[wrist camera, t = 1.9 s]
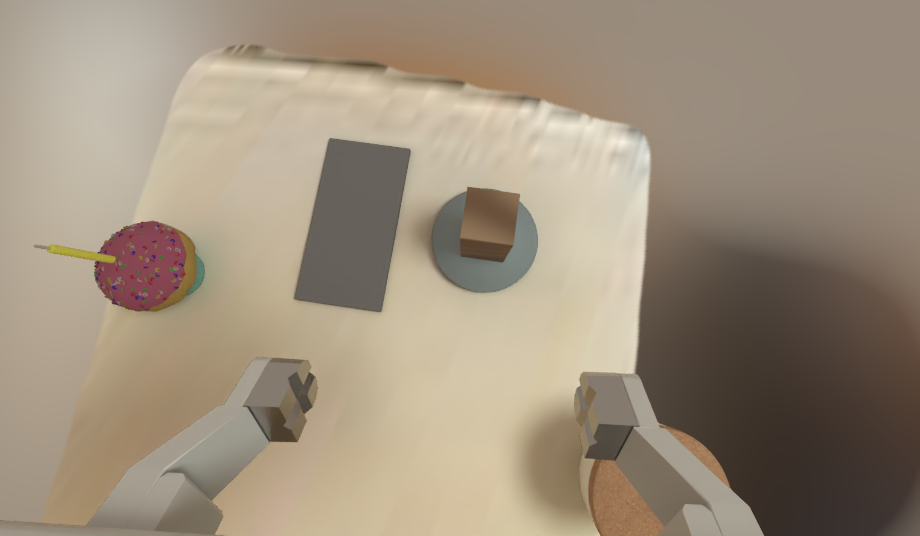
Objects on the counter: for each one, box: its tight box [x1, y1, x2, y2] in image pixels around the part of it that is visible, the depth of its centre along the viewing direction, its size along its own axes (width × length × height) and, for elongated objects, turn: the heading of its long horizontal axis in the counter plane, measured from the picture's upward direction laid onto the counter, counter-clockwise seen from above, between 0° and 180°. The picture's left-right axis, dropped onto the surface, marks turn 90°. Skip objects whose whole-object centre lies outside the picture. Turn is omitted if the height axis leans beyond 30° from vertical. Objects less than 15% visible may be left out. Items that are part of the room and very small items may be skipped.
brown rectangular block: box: [460, 187, 520, 263], centre depth 34 cm, size 4×4×8 cm
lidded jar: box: [579, 423, 730, 536], centre depth 31 cm, size 11×11×9 cm
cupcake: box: [34, 221, 204, 311], centre depth 33 cm, size 9×8×12 cm
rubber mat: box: [294, 138, 411, 312], centre depth 39 cm, size 18×9×1 cm, turn 172°
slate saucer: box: [432, 189, 538, 293], centre depth 38 cm, size 11×11×3 cm
